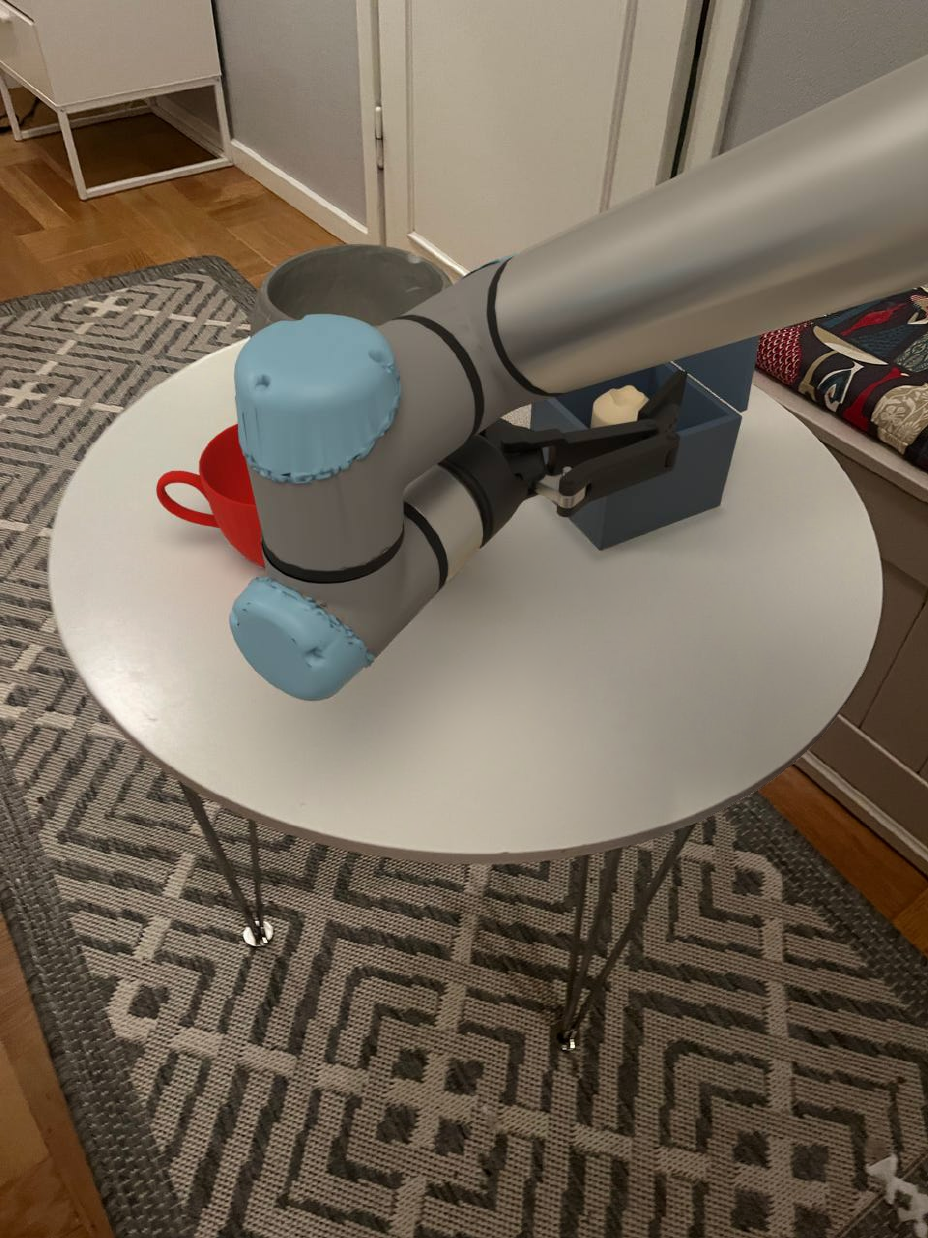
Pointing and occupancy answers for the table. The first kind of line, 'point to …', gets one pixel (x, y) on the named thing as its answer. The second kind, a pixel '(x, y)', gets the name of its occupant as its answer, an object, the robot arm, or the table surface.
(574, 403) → the open box
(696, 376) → the box lid
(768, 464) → the table surface
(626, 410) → the candle
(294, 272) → the bowl
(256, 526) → the ceramic cup
